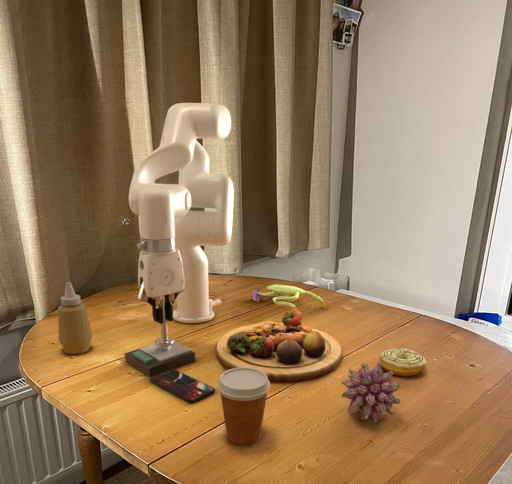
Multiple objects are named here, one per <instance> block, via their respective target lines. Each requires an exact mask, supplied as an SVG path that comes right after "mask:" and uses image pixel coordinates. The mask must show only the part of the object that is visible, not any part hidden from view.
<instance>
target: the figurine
mask: <svg viewBox="0 0 512 484" xmlns="http://www.w3.org/2000/svg"><path fill="white" fill-rule="evenodd" d="M266 290H267V291H268V292H261V289H260V288H257V289H254V290H252V292H251V297H252V300H253V301H255V302H257V303H259V302H261V301H262V299H261V297H272V303H274V304H275V305H276V306H284V307H285V306H286V307H289V308H292V309H293V310H297V305H295V304H294V303H291V302H288V301H296V300H297V299H298V298H299V297H300V296H301V295H306V296H309V297H310V298H313V299H314V300H316V301H317V302H318V303H319V304H320V305H321V306H322V308H323V309H324V310H326V309H327V308H328V305H327V304H326V303H325V302H324V300H323V298H322V297H321V296H319V295H317V294H315V293H312V292H310V291H308V290H304V289H302V288H300V287H296V286H292V285H286V284H285V285H284V284H277V283H274V284H271V285H268V286H266ZM269 291H270V292H269Z"/></svg>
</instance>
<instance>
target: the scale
mask: <svg viewBox="0 0 512 484" xmlns="http://www.w3.org/2000/svg"><path fill="white" fill-rule="evenodd" d="M124 361H125V363H126V364H128V365H129V366H131V367H133V368H134V369H135V370H137V371H139V372H140V373H141V374H143V375H145V376H146V377H148V378H151V377H153V376H156V375H158V374H160V373H163V372H165V371H168V370H170V369H175V370H176V369H178V368H180V367H181V368H182V367H184V366H186V365H189V364H191V363H194V362H196V352H195V351H193V350H192V349H191V348H189V347H186V345H183V344H181V343H179V342H177V341H175V342H174V344H172V345H171V349H169V350H168V351H162V350H160V349H159V346H158V345H156V344H155V343H152V344H149V345H146V346H145V345H144V346H143V347H140V348H136V349H134V350H131V351H128V352H124Z"/></svg>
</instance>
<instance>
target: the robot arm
mask: <svg viewBox="0 0 512 484" xmlns="http://www.w3.org/2000/svg"><path fill="white" fill-rule="evenodd" d="M231 129H232V116H231V113H230V110H229V109H228V108H227V106H225V105H223V104H218V103H214V102H213V103H212V102H179V103H175V104H173V105H171V106H170V107H169V108H168V110H167V113H166V115H165V120H164V124H163V129H162V133H161V137H160V143H159V147H157V148H156V149H155V150H153V151H151V152H150V153H149V154H148V155H146V156H145V157H144V158H143V159H142V160H141V161H140V162H139V163H138V164H137V166H136V167H135V169H134V171H133V174H132V177H131V182H130V185H129V191H128V205H129V208H130V210H131V212H132V213H133V214H134V215H136V216H139V225H140V227H139V229H140V242H137V243H136V247H137V249H138V250H141V251H140V252H139V256H138V266H137V272H138V273H137V282H138V283H137V285H138V290H139V291H138V295H137V300H138V301H140V302H143V303H147V304H149V306H151V310H152V319H153V321H154V322H156V323H157V324H159V325H160V324H162V323H163V308H161V307H160V299H161V297H163V299H164V300H165V308H166V311H167V312H166V313H167V317H166V318H167V319H166V320H167V322H173V320H174V321H176V322H179V323H183V324H199V323H200V324H201V323H206V322H209V321H211V320H212V319H214V317H215V311H214V310H213V308H215V307H218V306H221V305H222V300H221V299H220V298H218V299H214V300H213V299H212V298H209V297H210V293H209V261H208V257H207V255H206V253H205V251H204V250H203V249H202V248H201V246H206V247H207V246H210V247H211V246H212V247H224V246H227V245H228V244H229V243H230V242H231V240H232V236H233V235H232V234H233V221H234V200H235V191H234V190H235V189H234V183H233V180H232V178H231V177H230V176H229V175H228V174H224V173H210V162H211V161H210V156H209V153H208V152H207V151H206V149H205V148H204V147H203V145H202V144H201V143H200V142H199V141H198V140H197V139H203V140H204V139H207V140H213V139H215V140H223V139H226V138H228V136H229V134H230V133H231ZM175 172H178V183H154V182H155V181H156V180H158V179H159V178H162V177H164V176H166V175H170V174H173V173H175ZM191 208H194V209H195V208H197V209H198V208H200V209H215V210H216V211H210V210H209V211H207V210H206V211H205V210H204V211H203V210H191ZM175 302H176V309H175V310H174V309H173V308H174V307H173V306H174V305H175Z"/></svg>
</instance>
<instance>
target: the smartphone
mask: <svg viewBox="0 0 512 484" xmlns="http://www.w3.org/2000/svg"><path fill="white" fill-rule="evenodd" d="M149 382H150V383H153V384H154V385H156V386H158V387H159V388H162V389H164V390H165V391H167V392H170V393H171V394H173V395H175V396H177V397H179V398H181V399H183V400H185V401H187V402H188V403H195V402H197V401H200V400H202V399H204V398H206V397H207V396H210V395H211V394H214V393H215V392H216V391H215V389H216V388H214V387H213V386H210V385H208V384H206V383H204V382H202V381H200V380H197V379H195V378H194V377H191V376H190V375H188V374H185V373H183V372H181V371H179V370H177V369H176V368H175V369H170V370H168V371H165V372H163V373H160V374H158V375H156V376H153V377H149Z"/></svg>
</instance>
